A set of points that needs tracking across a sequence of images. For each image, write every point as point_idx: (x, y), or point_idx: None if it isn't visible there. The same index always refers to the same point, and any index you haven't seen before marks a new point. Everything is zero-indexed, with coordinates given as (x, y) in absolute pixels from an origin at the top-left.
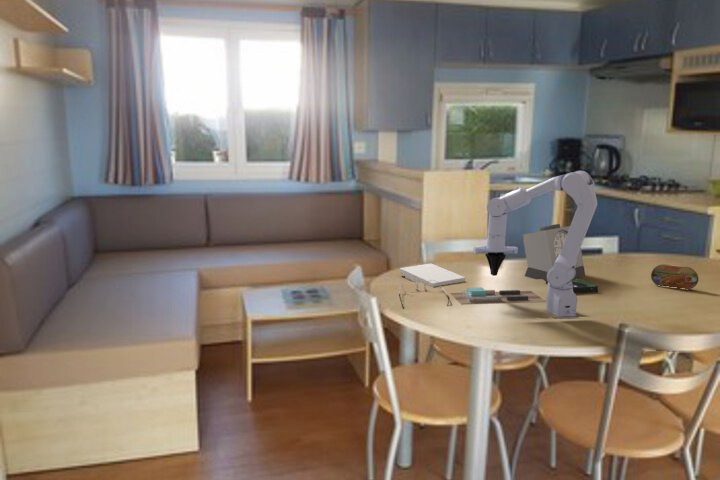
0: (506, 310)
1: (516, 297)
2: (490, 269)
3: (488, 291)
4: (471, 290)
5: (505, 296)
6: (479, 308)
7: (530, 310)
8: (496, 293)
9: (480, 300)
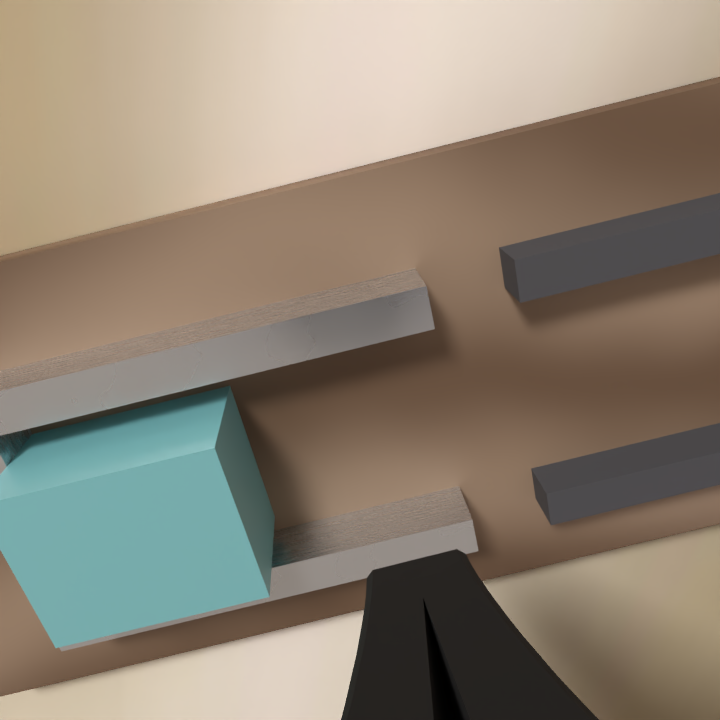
0: None
1: (657, 494)
2: (363, 668)
3: (333, 348)
4: (52, 613)
5: (555, 348)
6: (200, 658)
7: (686, 620)
8: (463, 234)
9: None
